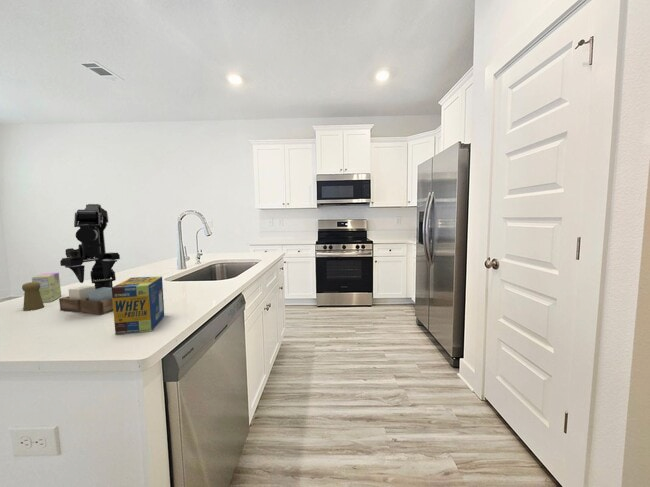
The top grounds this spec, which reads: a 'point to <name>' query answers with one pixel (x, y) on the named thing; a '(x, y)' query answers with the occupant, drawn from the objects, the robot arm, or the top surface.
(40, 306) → the cork
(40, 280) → the box
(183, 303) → the top surface
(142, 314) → the protein box
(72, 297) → the cream block
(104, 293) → the slate key
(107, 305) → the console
